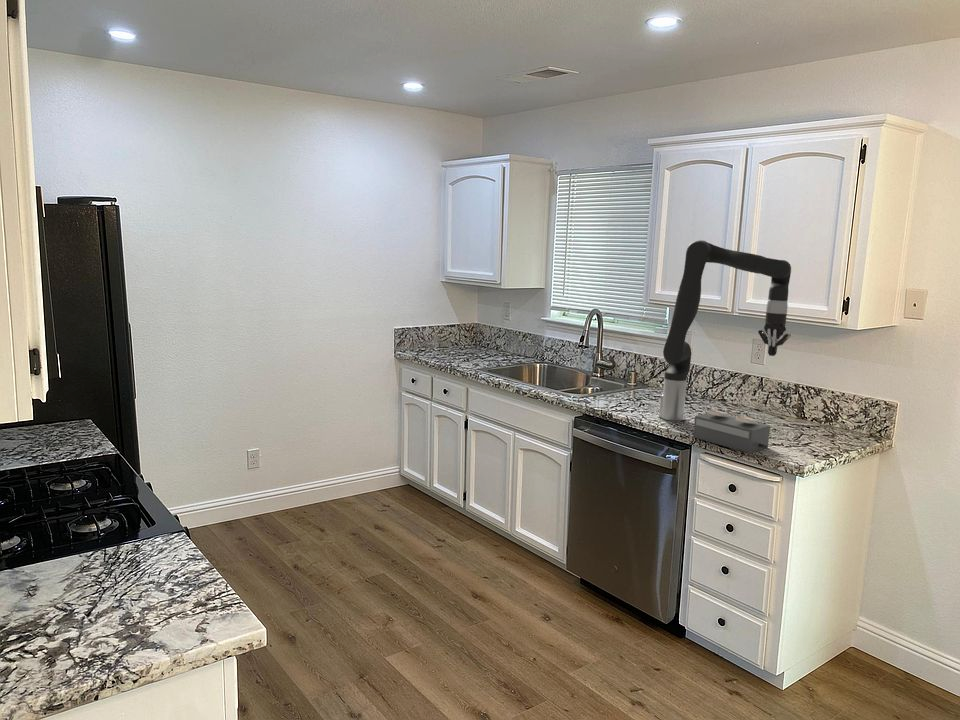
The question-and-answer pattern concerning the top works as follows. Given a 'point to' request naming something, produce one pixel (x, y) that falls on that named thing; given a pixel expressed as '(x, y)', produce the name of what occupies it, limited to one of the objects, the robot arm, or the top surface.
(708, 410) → the left rocker
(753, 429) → the switch box
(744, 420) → the right rocker
